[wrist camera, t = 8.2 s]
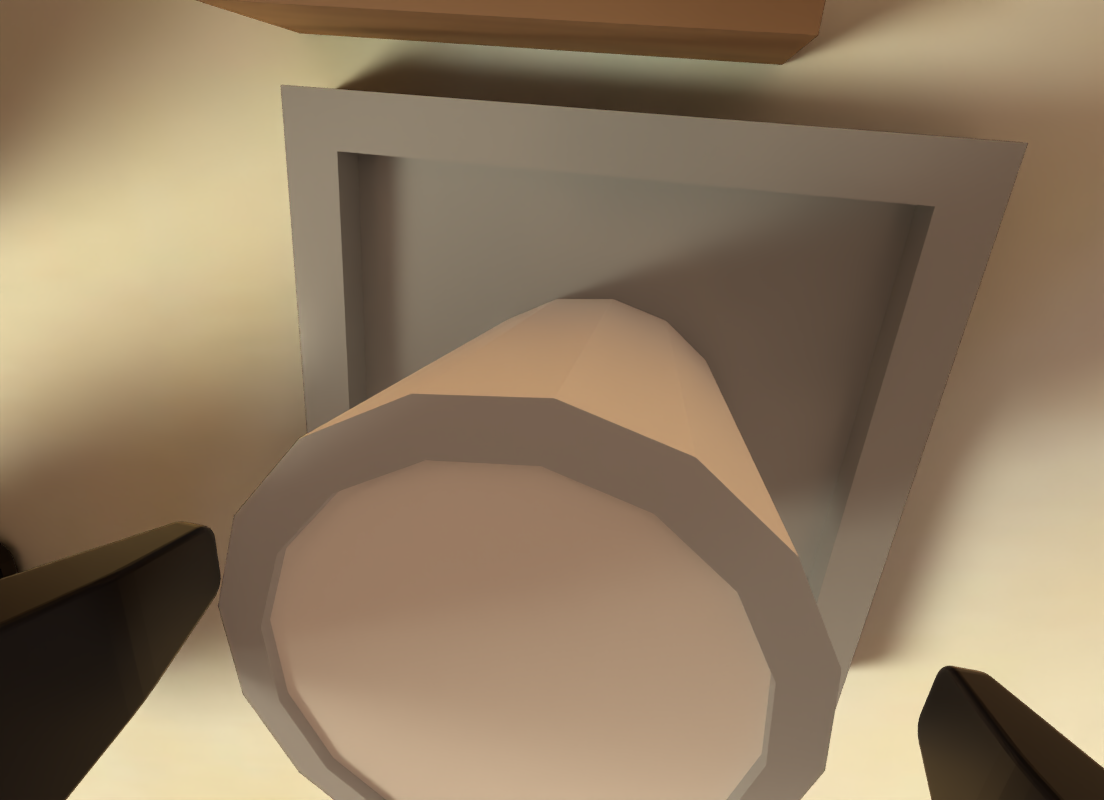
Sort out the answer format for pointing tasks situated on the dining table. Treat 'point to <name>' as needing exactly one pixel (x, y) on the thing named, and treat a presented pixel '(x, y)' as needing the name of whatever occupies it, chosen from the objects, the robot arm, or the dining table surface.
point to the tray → (663, 275)
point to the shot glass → (533, 583)
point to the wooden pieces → (564, 24)
